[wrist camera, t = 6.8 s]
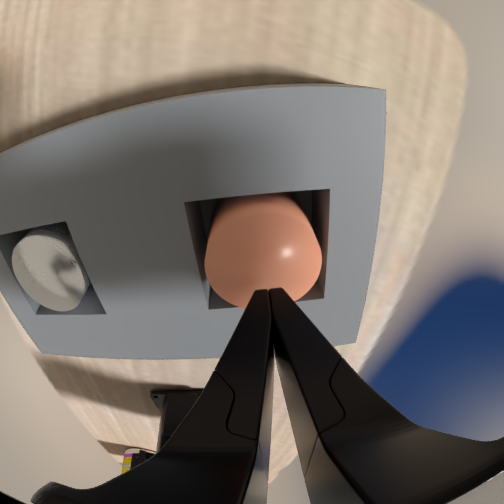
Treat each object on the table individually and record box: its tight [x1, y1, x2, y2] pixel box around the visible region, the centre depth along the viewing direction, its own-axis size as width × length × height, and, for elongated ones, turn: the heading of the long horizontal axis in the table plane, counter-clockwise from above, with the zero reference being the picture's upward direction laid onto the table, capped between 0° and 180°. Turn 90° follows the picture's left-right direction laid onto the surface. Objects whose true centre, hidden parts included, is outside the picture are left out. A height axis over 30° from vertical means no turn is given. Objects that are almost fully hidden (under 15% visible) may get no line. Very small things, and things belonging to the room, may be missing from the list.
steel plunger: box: [12, 221, 91, 311], centre depth 13 cm, size 4×4×3 cm
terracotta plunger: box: [205, 191, 322, 308], centre depth 12 cm, size 4×4×3 cm
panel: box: [0, 83, 386, 360], centre depth 13 cm, size 12×19×4 cm, turn 95°
